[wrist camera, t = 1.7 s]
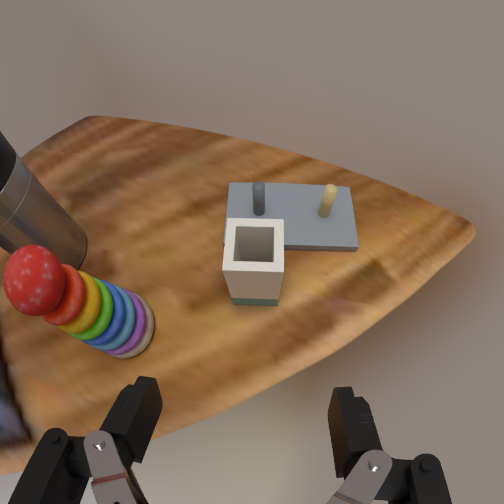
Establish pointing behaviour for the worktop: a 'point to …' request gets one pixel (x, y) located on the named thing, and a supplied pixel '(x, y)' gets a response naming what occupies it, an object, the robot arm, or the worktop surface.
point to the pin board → (299, 213)
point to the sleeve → (254, 260)
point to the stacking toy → (78, 302)
